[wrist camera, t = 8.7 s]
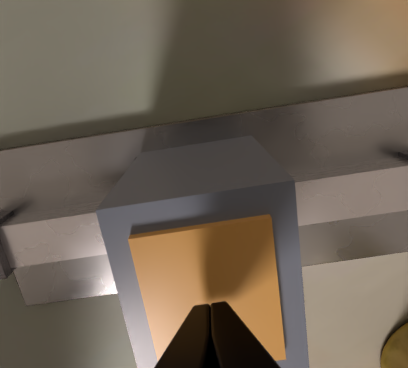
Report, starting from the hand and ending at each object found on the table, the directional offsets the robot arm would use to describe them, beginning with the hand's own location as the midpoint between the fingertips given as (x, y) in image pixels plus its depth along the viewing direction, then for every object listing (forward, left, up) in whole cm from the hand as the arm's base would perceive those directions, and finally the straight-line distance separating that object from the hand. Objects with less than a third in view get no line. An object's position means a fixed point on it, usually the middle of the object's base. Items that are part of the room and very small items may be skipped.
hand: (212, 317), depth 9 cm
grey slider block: (0, 0, -8) cm, 8 cm away
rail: (0, 0, -8) cm, 8 cm away
